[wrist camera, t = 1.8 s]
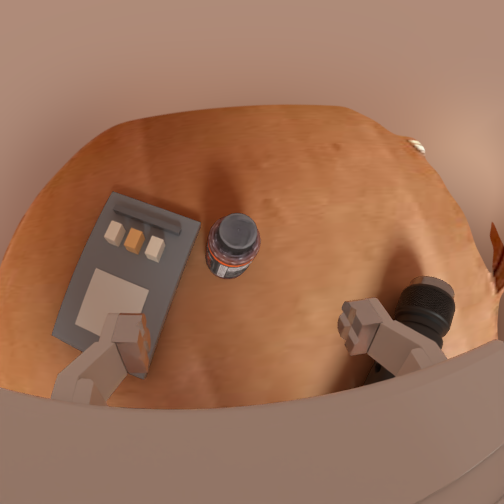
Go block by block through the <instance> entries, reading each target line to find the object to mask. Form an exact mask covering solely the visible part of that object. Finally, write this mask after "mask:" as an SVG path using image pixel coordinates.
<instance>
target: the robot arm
mask: <svg viewBox="0 0 504 504" xmlns="http://www.w3.org/2000/svg"><path fill="white" fill-rule="evenodd" d="M342 310H343V313H342V314H341V315H340V316H339V319H338V331H339V334H340V336H341V337H342V338H343V339H345V340H346V342H345V346H346V348H347V350H348V352H349V354H350V356H351V355H357V354H363V353H367V354H368V355H369V356H371V357H372V358H373V359H374V360H376V361H377V362H378V363H379V364H381V365H382V366H383V367H385V368H386V369H387V370H388V371H390V372H391V373H392V374H393V375H395V376H396V377H395V378H391V379H388V380H384V381H381V382H377V383H373V384H369V385H365V386H361V387H357V388H353V389H349V390H344V391H340V392H335V393H330V394H325V395H320V396H315V397H309V398H303V399H297V400H291V401H284V402H277V403H269V404H260V405H250V406H240V407H226V408H209V409H139V408H122V407H109V406H108V405H107V403H106V401H107V400H108V398H109V397H110V396H111V395H112V393H113V392H114V391H115V390H116V388H117V387H118V386H119V384H120V383H121V382H122V381H123V379H124V378H125V377H126V376H127V373H148V365H149V358H148V355H147V354H148V353H149V352H150V347H151V338H150V332H149V329H148V328H147V327H146V322H147V320H146V317H145V314H144V313H108V314H107V316H106V319H105V322H104V325H103V329H102V332H101V335H100V338H99V342H95V343H93V344H92V345H91V346H90V347H89V348H88V349H86V350H85V351H84V352H83V353H82V354H81V355H79V356H78V357H77V358H76V359H75V360H74V361H73V362H71V363H70V364H69V365H68V366H67V367H66V368H65V369H64V370H62V371H61V372H60V373H59V374H58V376H57V379H56V382H55V385H54V388H53V392H52V395H51V399H50V398H44V397H39V396H34V395H29V394H25V393H21V392H16V391H12V390H8V389H4V388H1V387H0V504H504V342H502V341H500V340H492V341H490V342H488V343H486V344H483V345H481V346H479V347H477V348H474V349H472V350H470V351H468V352H465V353H463V354H460V355H458V356H455V357H453V358H450V359H447V358H446V356H445V355H444V353H443V352H442V350H441V349H440V348H439V346H438V345H437V343H436V342H434V341H433V340H431V339H429V338H427V337H425V336H424V335H422V334H420V333H418V332H416V331H415V330H413V329H411V328H409V327H407V326H405V325H404V324H402V323H400V322H398V321H396V320H394V321H393V320H392V318H391V317H390V316H389V314H388V313H387V311H386V310H385V308H384V307H383V306H382V304H381V303H380V301H379V300H378V299H377V298H375V297H374V298H367V299H360V300H352V301H345V302H344V303H343V306H342Z"/></svg>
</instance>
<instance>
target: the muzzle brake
mask: <svg viewBox="0 0 504 504" xmlns="http://www.w3.org/2000/svg"><path fill="white" fill-rule="evenodd" d="M454 312H455V303H454V291H453V289H452V287H451V286H450V285H449V284H448V283H446V282H444V281H443V280H440V279H438V278H434V277H429V276H420V277H416V278H414V279H413V280H412V281H411V282H410V285H409V286H408V287H407V288H405V289H404V290H403V292H402V294H401V297H400V300H399V302H398V305H397V308H396V310H395V320H396V321H398V322H400V323H402V324H404V325H405V326H407V327H409V328H411V329H413V330H415V331H416V332H418V333H420V334H422V335H424V336H425V337H427V338H429V339H431V340H433V341H434V342H436V343H437V345H438V346H439V348H440V349H442V346H443V340H442V337H444V336H445V335H446V333H447V332H448V331H449V329H450V326H451V323H452V319H453V316H454ZM395 377H396V376H395V375H393V374H392V373H391V372H390V371H388V370H387V369H386V368H385V367H383V366H382V365H381V364H379V363H378V362H377V361H375V363H374V365H373V367H372V369H371V371H370V373H369V375H368V377H367V379H366V381H365V383H364V385H363V386H365V385H369V384H373V383H377V382H381V381H384V380H388V379H391V378H395Z"/></svg>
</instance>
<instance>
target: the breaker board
mask: <svg viewBox="0 0 504 504" xmlns="http://www.w3.org/2000/svg"><path fill="white" fill-rule="evenodd" d="M200 228H201V222H198V221H195V220H192V219H190V218H187V217H184V216H181V215H178V214H176V213H173V212H170V211H167V210H164V209H162V208H159V207H156V206H153V205H150V204H147V203H145V202H142V201H139V200H136V199H133V198H130V197H127V196H125V195H122V194H119V193H116V192H112V193H111V195H110V197H109V199H108V201H107V203H106V205H105V206H104V208H103V210H102V212H101V214H100V216H99V218H98V220H97V222H96V224H95V226H94V228H93V231H92V233H91V235H90V237H89V239H88V241H87V243H86V246H85V248H84V250H83V252H82V255H81V257H80V259H79V261H78V264H77V266H76V269H75V271H74V274H73V276H72V278H71V281H70V284H69V286H68V289H67V291H66V294H65V297H64V300H63V302H62V305H61V308H60V311H59V314H58V317H57V320H56V323H55V326H54V329H53V332H52V335H53V336H54V337H56V338H58V339H60V340H61V341H63V342H65V343H67V344H69V345H71V346H72V347H74V348H76V349H78V350H80V351H82V352H84V351H85V350H86V349H88V348H89V347H90V346H91V345H92V344H93V343H95V342H99V338H100V335H101V332H102V329H103V325H104V322H105V319H106V316H107V314H108V313H144V314H145V317H146V320H147V322H146V327H147V328H148V329H149V332H150V338H151V347H150V352H149V353H148V354H147V355H148V358H149V365H148V370H149V367H150V364H151V361H152V358H153V355H154V352H155V349H156V346H157V343H158V340H159V337H160V334H161V331H162V328H163V325H164V323H165V320H166V317H167V314H168V311H169V308H170V306H171V303H172V300H173V297H174V295H175V292H176V289H177V287H178V284H179V281H180V279H181V276H182V273H183V271H184V268H185V266H186V263H187V260H188V258H189V255H190V253H191V250H192V248H193V245H194V243H195V240H196V238H197V235H198V233H199V230H200ZM129 374H131V375H134V376H136V377H138V378H141V379H143V380H144V379H145V378H146V376H147V373H129Z"/></svg>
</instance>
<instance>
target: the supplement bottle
mask: <svg viewBox="0 0 504 504" xmlns="http://www.w3.org/2000/svg"><path fill="white" fill-rule="evenodd" d="M260 244H261V238H260V233H259V231H258V229H257V227H256V224H255V222H254V221H253V220H252V219H251V218H250V217H249V216H247V215H245V214H241V213H233V214H230V215H228V216H225V217H222V218H220V219H219V220H217V221H216V222H215V223H214V225H213V226H212V228H211V230H210V232H209V236H208V242H207V249H206V262H207V265H208V268H209V269H210V271H211V272H212V273H213V274H214V275H216V276H218V277H220V278H223V279H232V278H236V277H238V276H239V275H241V274H242V273H243V272H244V271H245V270H246V269H247V267H248V266H249V264H250V263H251V262H252V260H253V259H254V258H255V256H256V255H257V253H258V251H259V248H260Z"/></svg>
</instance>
